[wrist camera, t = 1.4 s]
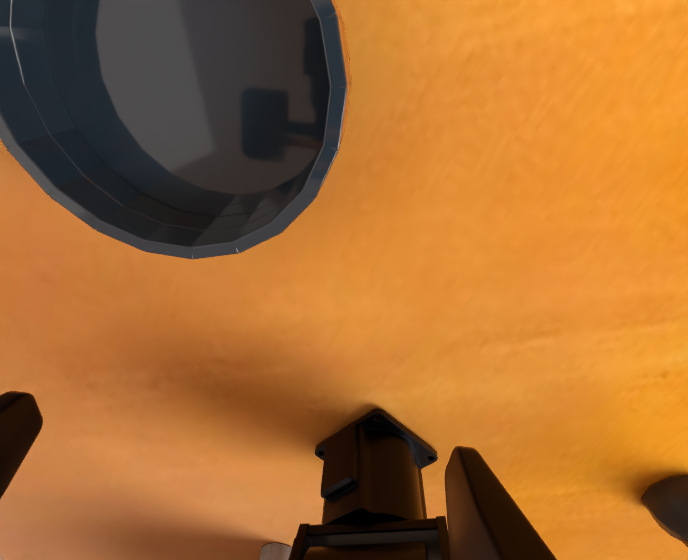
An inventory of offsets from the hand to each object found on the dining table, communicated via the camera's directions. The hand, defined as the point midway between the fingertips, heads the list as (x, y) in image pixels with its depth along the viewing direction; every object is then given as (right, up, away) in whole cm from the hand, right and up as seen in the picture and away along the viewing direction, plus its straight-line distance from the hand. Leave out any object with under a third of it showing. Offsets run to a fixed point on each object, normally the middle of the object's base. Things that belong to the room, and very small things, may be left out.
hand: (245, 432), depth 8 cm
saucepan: (-4, +12, +9) cm, 15 cm away
